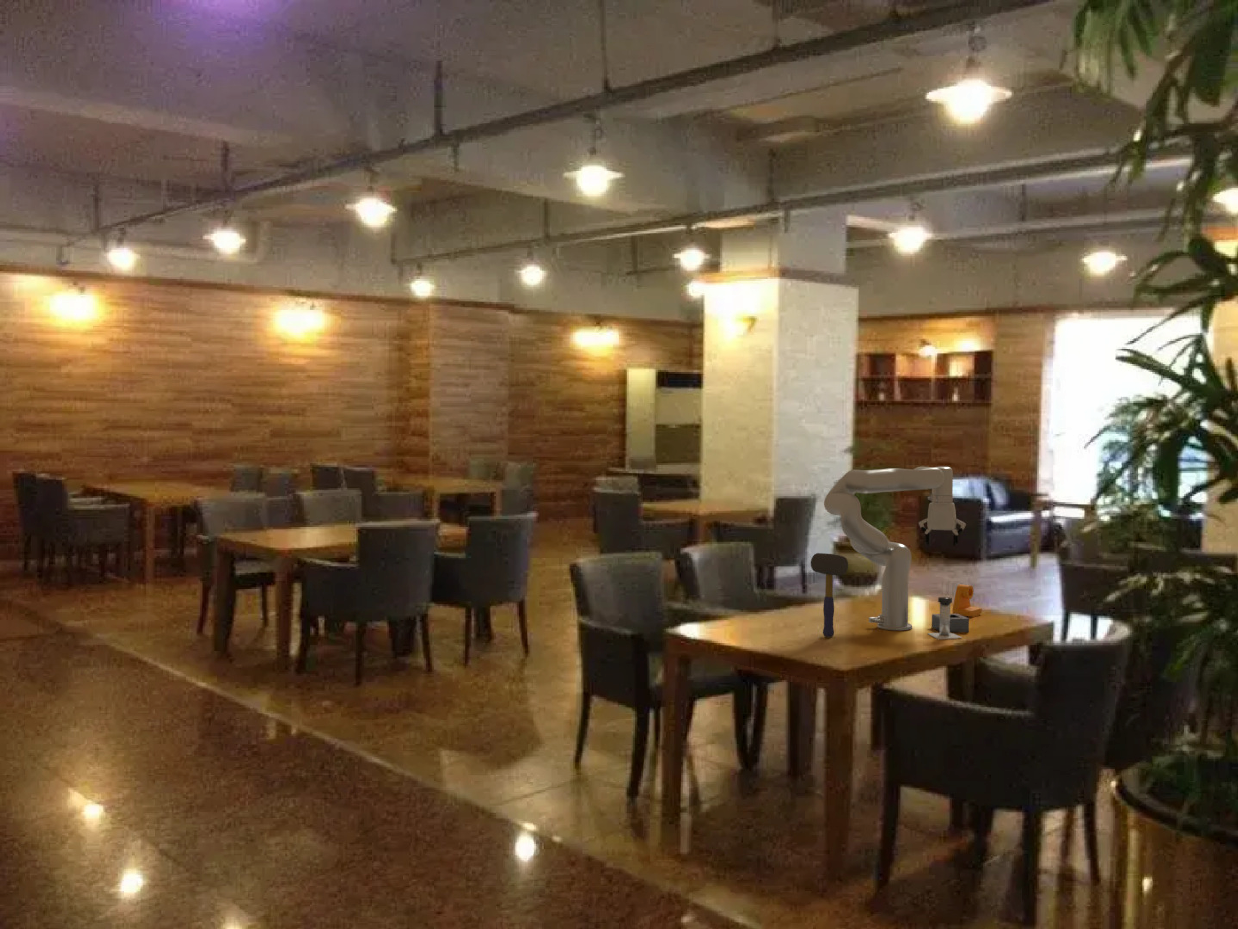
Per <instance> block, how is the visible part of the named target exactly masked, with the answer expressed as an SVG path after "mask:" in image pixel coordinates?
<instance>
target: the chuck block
mask: <svg viewBox="0 0 1238 929" xmlns="http://www.w3.org/2000/svg"><path fill="white" fill-rule="evenodd" d="M932 627H933V628H932ZM969 627H970V617H967V616H962V615H960V614H953V613H950V633H951V632H953V633H970V632H969V630H970V629H969ZM931 628H932V629H934V630H935V631H938V632H940V613H936V614H935V613H932V614H931Z"/></svg>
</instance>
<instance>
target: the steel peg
mask: <svg viewBox="0 0 1238 929" xmlns="http://www.w3.org/2000/svg"><path fill="white" fill-rule="evenodd" d="M937 602H938V603H939V614H940V631H938V633H939V635H940V636H950V614H951V604H952V603H953V597H951V596H949V597H948V596H939V597H938V598H937Z"/></svg>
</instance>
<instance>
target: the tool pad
mask: <svg viewBox="0 0 1238 929" xmlns="http://www.w3.org/2000/svg"><path fill="white" fill-rule="evenodd" d="M927 635H929V636H930V637H932V638H934V639H936V640H959V639H958V638H962V639H963V637H962V636H960V635H959V634H956V633H955V632H953V633H950V636H940V635H939V632H927Z"/></svg>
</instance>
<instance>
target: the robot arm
mask: <svg viewBox="0 0 1238 929" xmlns="http://www.w3.org/2000/svg"><path fill="white" fill-rule="evenodd" d="M953 474H954V471H953V469H952V468H951V467H950V466H935V467H932V466H931V467H929V466H918V467H915V468H914V469H908V468H899V467H897V468H893V467H892V468H891V467H890V468H880V469H867V470H863V469H850V470H849V471H847V472H846V473H845V474H844V475H843V476H842V477H841V478H840V479H839V480H838V481H837V482H836V484H834V486H833V487H832V488H831V490H829V492H828V493H827V494H826V496H825V498H824V502H823V505H824V509H825V510H826V512H828V513H829V515H835V516H839V517H840V526H841V529H842V532H843V533H844V535H845V536H846V537H848V539H849V542H850V543H849V544H850V545H851V547H852V549H854V550H855V551H856V552H857V553H859V554H861V556H863V557H864V558H866V559H868V560H869V561H870V562H872V563H874V564H876V565H878V566H881V567H885V568H884V570H883V574H882V578H881V580H882V581H881V614H878V616H870V617H868V622H869V623H875V624H877V625H876V626H877V627H878V628H879V629H882V630H886V631H908V630H912V629H913V625H912V624H911V623H909V574H910V569H911V564H912V553H911V550H910V549H909V547H908V546H906V545H905V544H903V543H899V542H894V541H889V540H888V538H887V536H886V534H884V532H882V531H881V530H880V529H877V527H875V526H873V525H871V524H870V523H869V522H867V521H866V520H864V519H863V517H862V508H861V503H860V500H859V499H858V497H857V496H855V494H856V493H858V494H874V493H875V494H876V493H889V492H903V491H919V490H920V491H921V490H931V495H930V496H927V500H929V501H931V502H930V503H929V504H928V510H927V518H924V519H922V520H920V521H918V525H919V527H920V529H921V531H923V533H924V534H925V542H926V545H927V546H929V545H931V543H932V540H931V539H932V538H931V536H932V535H931V532H932V530H934V531H952V533H953V538H952V540H953V542H952V543H953V544H952V545H953V546H954V547H956V546H957V545H958V544H959V534H961V533H962V532H963V531H964V529H965V527H966V526H967V524H966V522H964V521H962V520H960V519H958V518H957V512H956V506H955V503H954V502H953V501H954V500H953V496H954V495H953V494H954V492H953V491H954V490H953V489H954V488H953V487H954V484H953V482H954V478H953V477H954V475H953ZM925 523H927V528H926V527H925V526H924V524H925ZM957 524H958V525H959V526H960V528H959V529H957Z"/></svg>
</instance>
